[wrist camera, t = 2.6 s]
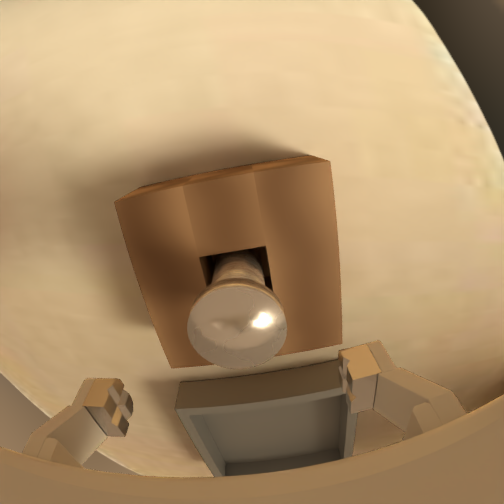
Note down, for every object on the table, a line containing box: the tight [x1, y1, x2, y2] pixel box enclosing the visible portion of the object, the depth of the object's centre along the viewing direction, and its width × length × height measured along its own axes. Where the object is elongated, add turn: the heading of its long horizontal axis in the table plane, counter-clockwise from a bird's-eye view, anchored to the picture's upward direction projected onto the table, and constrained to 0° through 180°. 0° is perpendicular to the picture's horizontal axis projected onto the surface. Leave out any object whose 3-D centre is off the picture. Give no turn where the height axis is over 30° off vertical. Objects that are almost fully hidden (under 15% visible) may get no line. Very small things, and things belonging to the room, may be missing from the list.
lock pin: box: [187, 247, 287, 369], centre depth 18 cm, size 4×4×9 cm
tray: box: [175, 360, 358, 477], centre depth 28 cm, size 16×16×4 cm
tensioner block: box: [114, 155, 342, 368], centre depth 20 cm, size 12×12×5 cm
